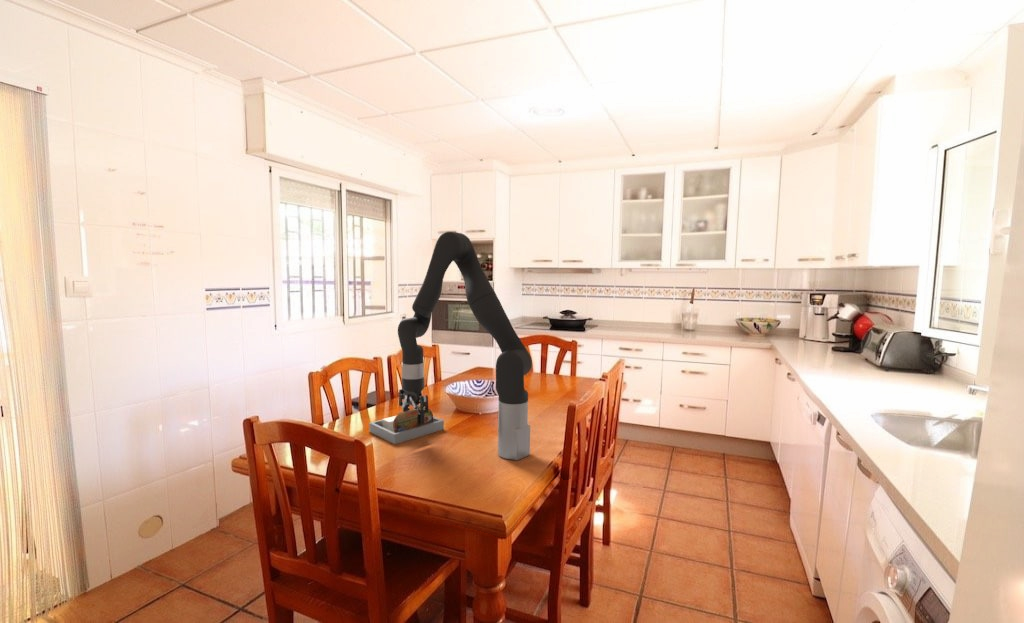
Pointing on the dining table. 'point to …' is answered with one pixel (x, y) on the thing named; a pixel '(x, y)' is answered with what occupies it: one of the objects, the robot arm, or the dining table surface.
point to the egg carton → (388, 423)
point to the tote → (407, 434)
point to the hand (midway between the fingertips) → (413, 421)
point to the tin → (410, 420)
